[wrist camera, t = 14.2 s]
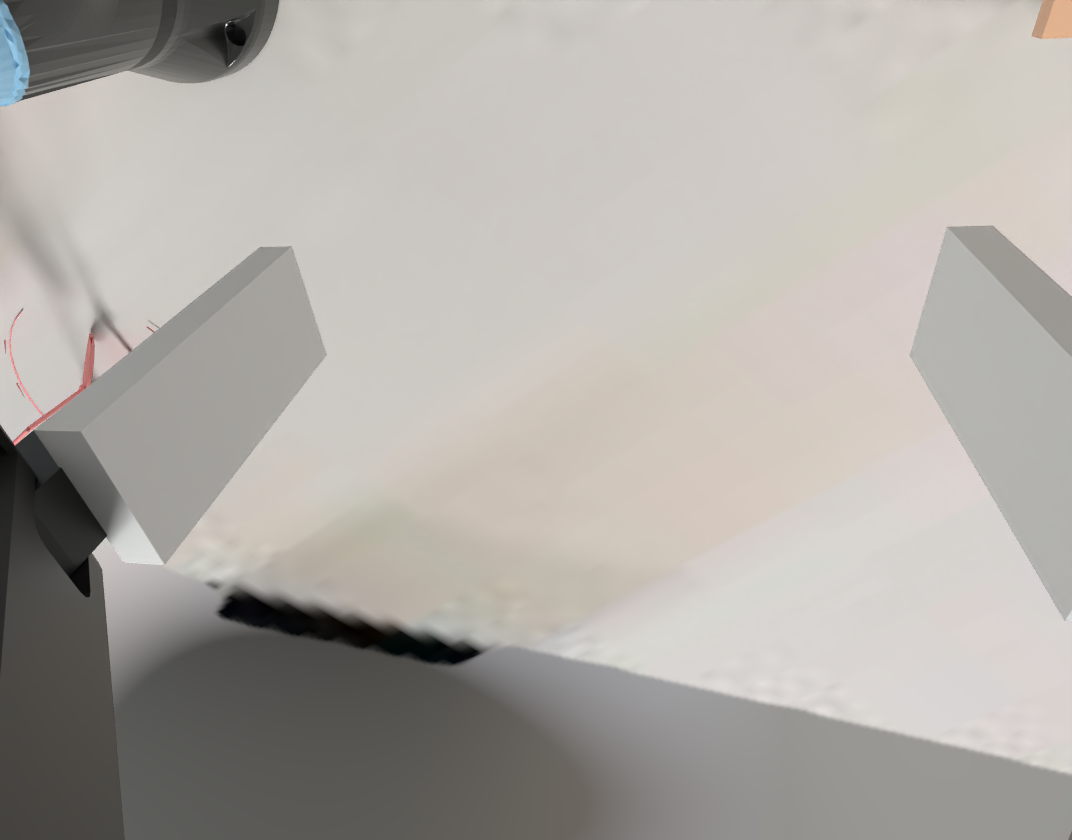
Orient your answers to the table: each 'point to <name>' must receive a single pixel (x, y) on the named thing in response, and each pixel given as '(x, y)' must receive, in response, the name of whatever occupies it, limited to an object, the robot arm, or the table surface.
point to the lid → (1054, 20)
